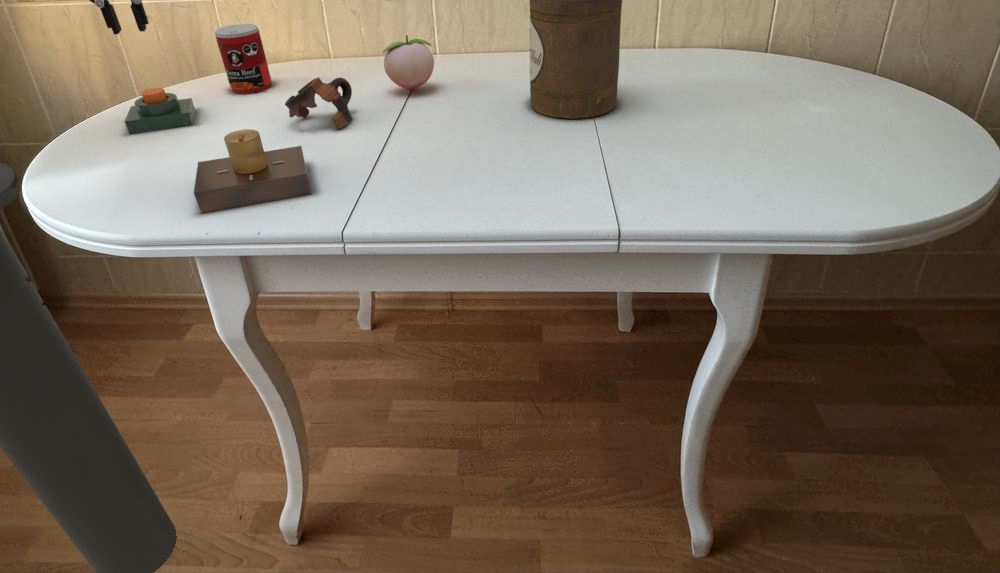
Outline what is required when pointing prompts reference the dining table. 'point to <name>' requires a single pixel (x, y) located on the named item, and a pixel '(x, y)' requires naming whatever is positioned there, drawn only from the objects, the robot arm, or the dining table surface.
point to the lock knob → (246, 151)
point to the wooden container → (574, 56)
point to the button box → (160, 114)
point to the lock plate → (251, 181)
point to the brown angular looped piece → (326, 93)
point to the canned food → (243, 58)
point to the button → (154, 95)
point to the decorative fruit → (409, 63)
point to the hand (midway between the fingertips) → (130, 29)
